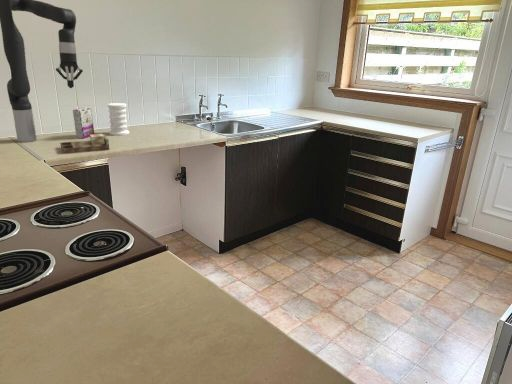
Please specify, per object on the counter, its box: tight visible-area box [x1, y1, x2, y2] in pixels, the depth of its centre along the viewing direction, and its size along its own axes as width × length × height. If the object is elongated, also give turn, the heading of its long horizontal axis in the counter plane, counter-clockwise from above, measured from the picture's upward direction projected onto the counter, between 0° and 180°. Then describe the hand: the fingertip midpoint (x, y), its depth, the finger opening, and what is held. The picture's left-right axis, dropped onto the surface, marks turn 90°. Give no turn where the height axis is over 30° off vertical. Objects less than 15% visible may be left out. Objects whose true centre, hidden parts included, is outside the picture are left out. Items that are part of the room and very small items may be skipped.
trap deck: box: [59, 133, 110, 154], centre depth 204 cm, size 22×14×6 cm, turn 120°
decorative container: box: [107, 102, 130, 136], centre depth 239 cm, size 12×12×18 cm
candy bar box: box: [72, 106, 95, 140], centre depth 228 cm, size 11×5×16 cm, turn 168°
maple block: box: [89, 133, 105, 145], centre depth 207 cm, size 6×6×4 cm
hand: (70, 87), depth 199 cm, fingers closed
